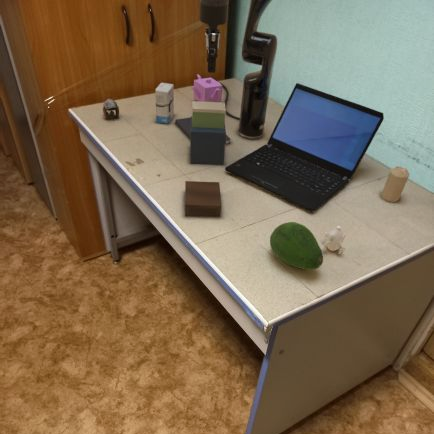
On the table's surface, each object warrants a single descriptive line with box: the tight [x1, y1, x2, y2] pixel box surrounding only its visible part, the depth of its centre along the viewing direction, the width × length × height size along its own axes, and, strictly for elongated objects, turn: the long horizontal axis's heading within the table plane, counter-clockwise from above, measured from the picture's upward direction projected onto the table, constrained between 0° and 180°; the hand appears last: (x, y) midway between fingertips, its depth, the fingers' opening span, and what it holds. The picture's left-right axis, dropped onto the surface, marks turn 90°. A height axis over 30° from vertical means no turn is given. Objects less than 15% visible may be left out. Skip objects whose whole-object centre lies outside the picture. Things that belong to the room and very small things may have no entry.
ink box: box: [154, 82, 175, 125], centre depth 158 cm, size 8×5×12 cm, turn 168°
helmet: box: [102, 98, 120, 120], centre depth 157 cm, size 6×8×7 cm
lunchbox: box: [191, 100, 227, 129], centre depth 133 cm, size 6×10×6 cm, turn 93°
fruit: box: [269, 221, 324, 271], centre depth 104 cm, size 15×10×10 cm, turn 33°
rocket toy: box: [323, 224, 346, 255], centre depth 109 cm, size 5×5×8 cm
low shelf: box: [184, 180, 222, 218], centre depth 121 cm, size 12×10×4 cm
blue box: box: [189, 116, 227, 166], centre depth 139 cm, size 11×11×11 cm
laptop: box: [224, 82, 385, 213], centre depth 133 cm, size 33×38×19 cm
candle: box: [380, 165, 410, 203], centre depth 129 cm, size 6×6×10 cm
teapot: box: [191, 74, 223, 103], centre depth 171 cm, size 18×13×10 cm
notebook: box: [174, 116, 231, 145], centre depth 155 cm, size 13×2×21 cm
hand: (210, 67), depth 123 cm, fingers open, 8 cm apart
